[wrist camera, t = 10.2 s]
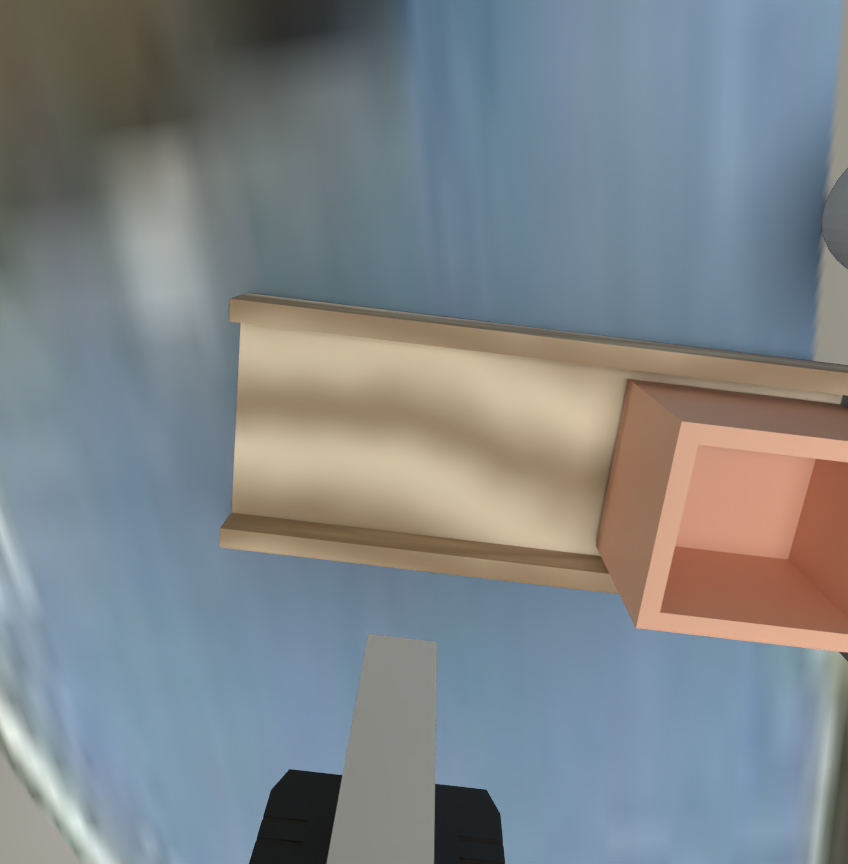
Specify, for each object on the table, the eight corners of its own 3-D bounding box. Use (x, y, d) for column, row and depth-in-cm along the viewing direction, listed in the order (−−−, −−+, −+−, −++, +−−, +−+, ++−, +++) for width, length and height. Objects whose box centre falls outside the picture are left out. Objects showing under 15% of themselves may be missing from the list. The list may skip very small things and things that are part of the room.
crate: (628, 378, 34) (681, 421, 27) (838, 404, 34) (950, 453, 27) (595, 545, 36) (636, 628, 29) (792, 568, 37) (883, 656, 29)
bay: (247, 293, 35) (192, 311, 27) (863, 367, 35) (982, 406, 27) (236, 523, 38) (184, 597, 30) (799, 589, 38) (890, 679, 31)
